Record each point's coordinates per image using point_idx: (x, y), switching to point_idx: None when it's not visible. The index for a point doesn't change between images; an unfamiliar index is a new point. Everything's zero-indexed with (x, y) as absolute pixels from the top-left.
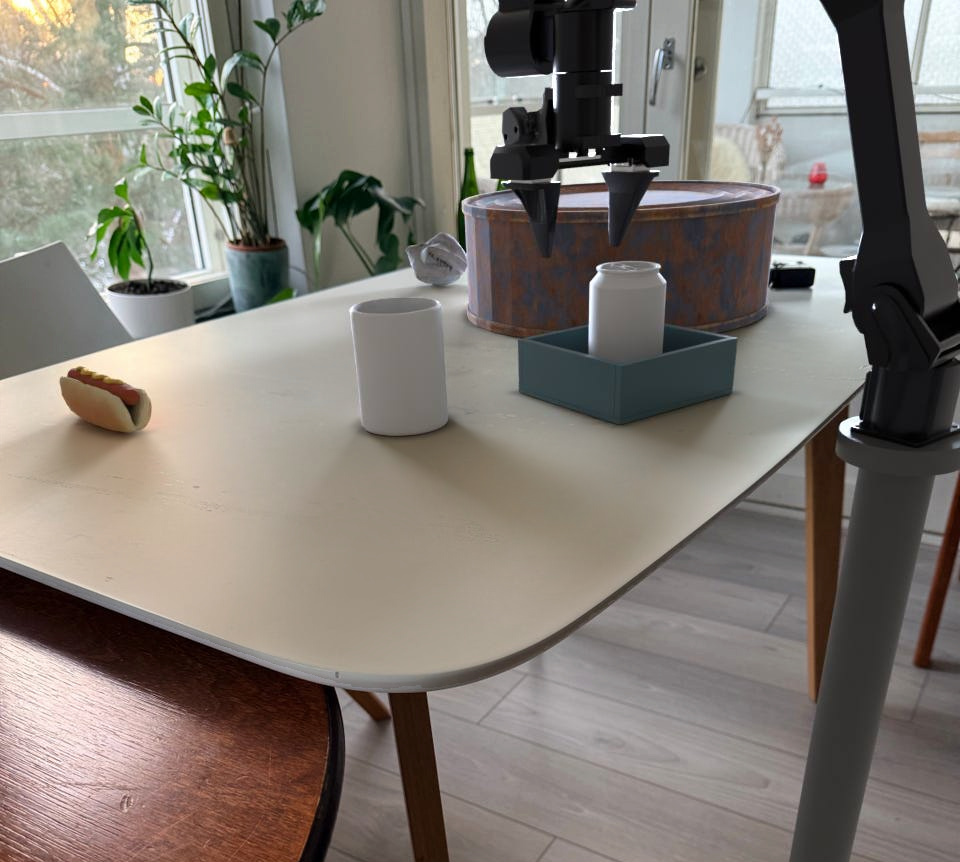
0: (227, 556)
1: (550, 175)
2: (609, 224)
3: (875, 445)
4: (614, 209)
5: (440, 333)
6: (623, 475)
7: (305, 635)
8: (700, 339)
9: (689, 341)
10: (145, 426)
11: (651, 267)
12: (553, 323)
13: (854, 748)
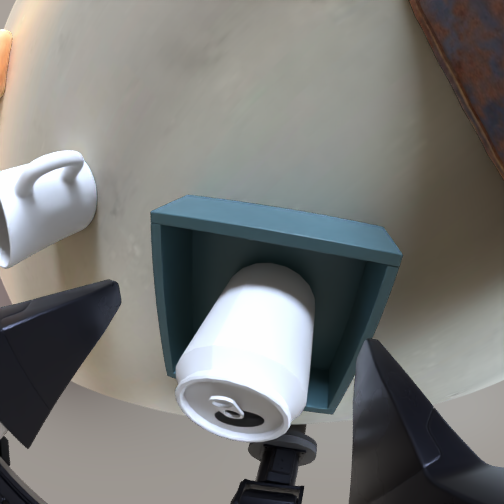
0: (12, 279)
1: (1, 439)
2: (378, 381)
3: (249, 450)
4: (381, 437)
5: (29, 254)
6: (138, 372)
7: None
8: (338, 380)
9: (344, 364)
10: (3, 93)
11: (280, 425)
12: (440, 32)
13: None
